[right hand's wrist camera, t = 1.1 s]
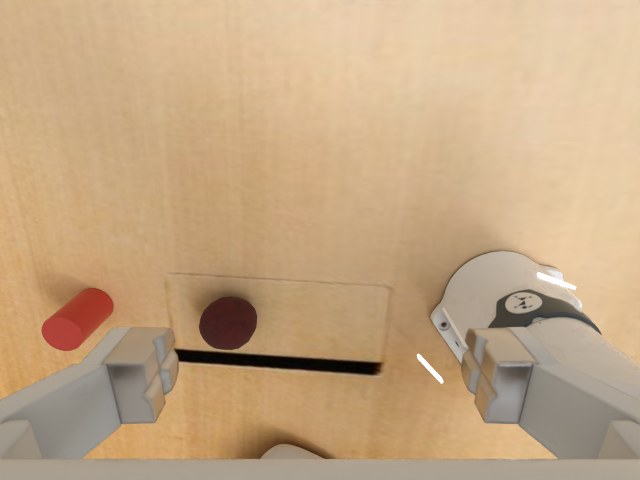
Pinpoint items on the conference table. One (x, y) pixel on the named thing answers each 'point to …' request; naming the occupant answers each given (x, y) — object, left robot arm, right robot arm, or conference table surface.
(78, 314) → the canister
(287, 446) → the white rounded block
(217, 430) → the conference table surface
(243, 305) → the potato
